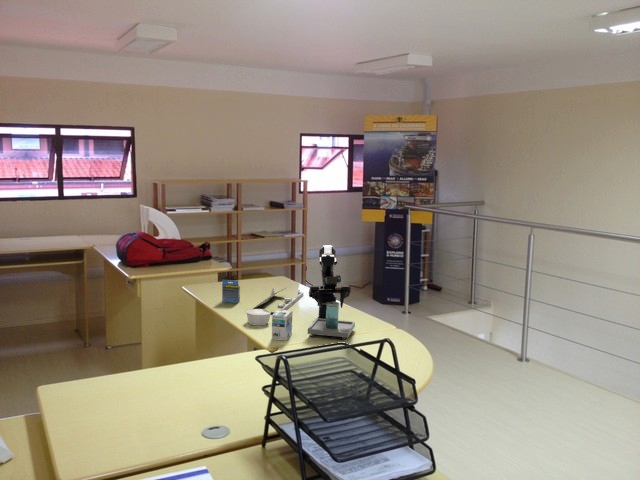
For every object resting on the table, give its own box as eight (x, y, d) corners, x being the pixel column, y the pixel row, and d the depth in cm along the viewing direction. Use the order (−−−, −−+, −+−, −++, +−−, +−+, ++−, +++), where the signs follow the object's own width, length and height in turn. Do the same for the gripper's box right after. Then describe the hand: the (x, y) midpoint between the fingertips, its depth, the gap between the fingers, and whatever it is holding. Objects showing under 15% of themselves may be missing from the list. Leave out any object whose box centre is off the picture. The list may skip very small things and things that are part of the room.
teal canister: (323, 327, 267) (323, 303, 266) (330, 324, 272) (331, 300, 270) (333, 329, 264) (334, 305, 262) (340, 327, 268) (341, 303, 267)
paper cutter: (303, 296, 337) (303, 286, 336) (279, 316, 294) (279, 305, 293) (272, 293, 341) (273, 284, 341) (244, 313, 298) (244, 302, 297)
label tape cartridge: (240, 301, 319) (240, 278, 318) (238, 303, 315) (238, 280, 314) (223, 300, 320) (224, 278, 318) (221, 302, 316) (222, 279, 315)
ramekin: (275, 323, 281) (275, 312, 280) (255, 327, 274) (255, 316, 273) (261, 318, 289) (261, 307, 289) (241, 321, 282) (242, 310, 281)
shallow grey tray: (307, 337, 261) (307, 329, 261) (316, 326, 279) (316, 318, 278) (348, 341, 258) (348, 333, 257) (354, 329, 275) (354, 321, 275)
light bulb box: (286, 340, 256) (286, 316, 254) (271, 339, 257) (271, 315, 256) (292, 333, 266) (293, 310, 265) (277, 332, 268) (278, 308, 266)
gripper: (310, 268, 270) (313, 298, 261) (350, 268, 273) (355, 298, 264) (307, 281, 279) (310, 311, 270) (346, 281, 282) (350, 310, 273)
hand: (331, 307), depth 269 cm, fingers open, 9 cm apart
